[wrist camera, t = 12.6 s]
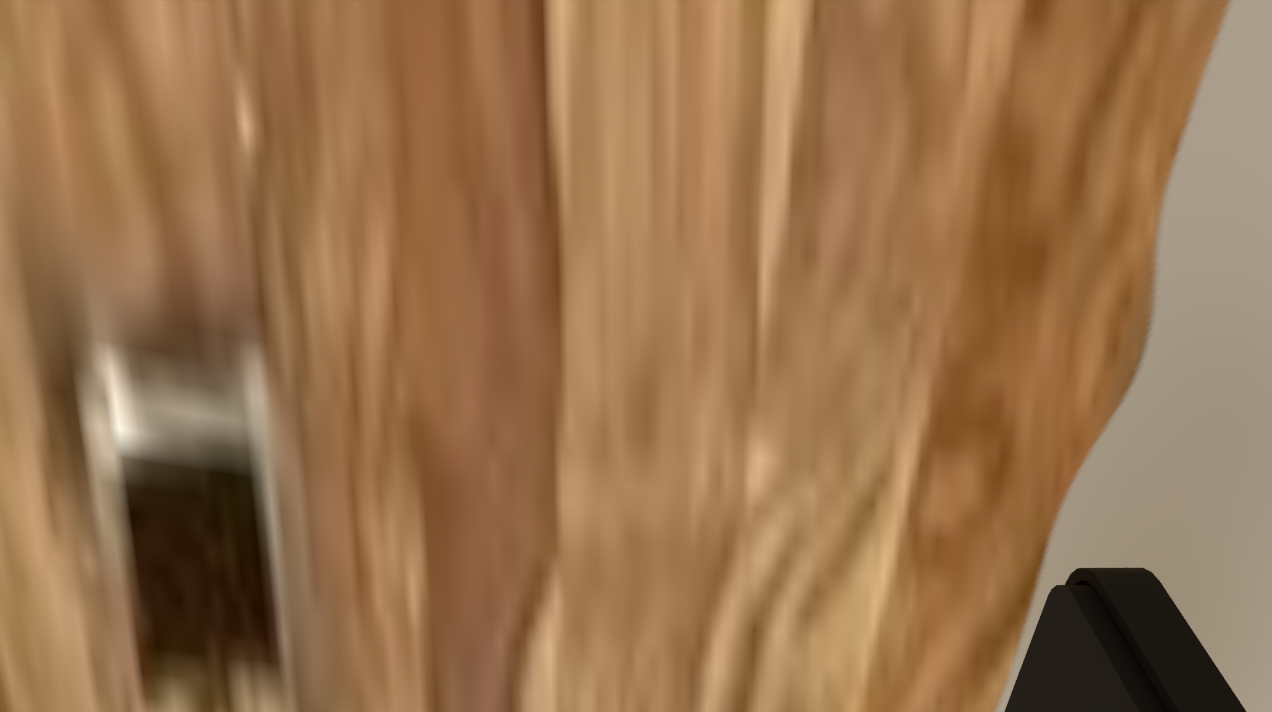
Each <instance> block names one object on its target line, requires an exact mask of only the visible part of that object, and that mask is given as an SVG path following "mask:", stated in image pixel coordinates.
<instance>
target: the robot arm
mask: <svg viewBox="0 0 1272 712" xmlns="http://www.w3.org/2000/svg"><path fill="white" fill-rule="evenodd" d="M1005 712H1246V710H1245V709H1244V708H1243V706H1242V704H1241V703H1240V701H1239V700H1238V698H1237V697H1236V695H1235V694H1234V692H1233V691H1232V689H1231V688H1230V686H1229V685H1228V683H1227V682H1226V680H1225V679H1224V677H1223V676H1222V675H1221V673H1220V671H1219V670H1218V668H1217V667H1216V665H1215V664H1214V662H1213V661H1212V659H1211V658H1210V656H1209V655H1208V653H1207V652H1206V650H1205V649H1204V647H1203V646H1202V644H1201V643H1200V641H1199V640H1198V638H1197V637H1196V635H1195V634H1194V632H1193V631H1192V629H1191V628H1190V626H1189V625H1188V623H1187V622H1186V620H1185V619H1184V617H1183V616H1182V614H1181V613H1180V611H1179V610H1178V608H1177V607H1176V605H1175V604H1174V602H1173V601H1172V599H1171V598H1170V597H1169V595H1168V593H1167V591H1166V590H1165V588H1164V587H1163V585H1162V584H1161V583H1160V581H1159V580H1158V579H1157V578H1156V577H1155V576H1154V574H1153V573H1152V572H1150V571H1148V570H1146V569H1144V568H1079V569H1076V570H1075V571H1074V572H1072V573H1071V575H1070V576H1069V578H1068V580H1067V582H1066V584H1065V585H1057V586H1055V587H1054V588H1053V589H1052V590H1051V592H1050V593H1049V595H1048V598H1047V600H1046V603H1045V606H1044V608H1043V611H1042V614H1041V616H1040V619H1039V621H1038V624H1037V627H1036V630H1035V632H1034V635H1033V637H1032V640H1031V643H1030V645H1029V648H1028V651H1027V653H1026V656H1025V659H1024V661H1023V664H1022V667H1021V669H1020V672H1019V675H1018V677H1017V680H1016V683H1015V685H1014V688H1013V691H1012V693H1011V696H1010V699H1009V701H1008V704H1007V707H1006V709H1005Z"/></svg>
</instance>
